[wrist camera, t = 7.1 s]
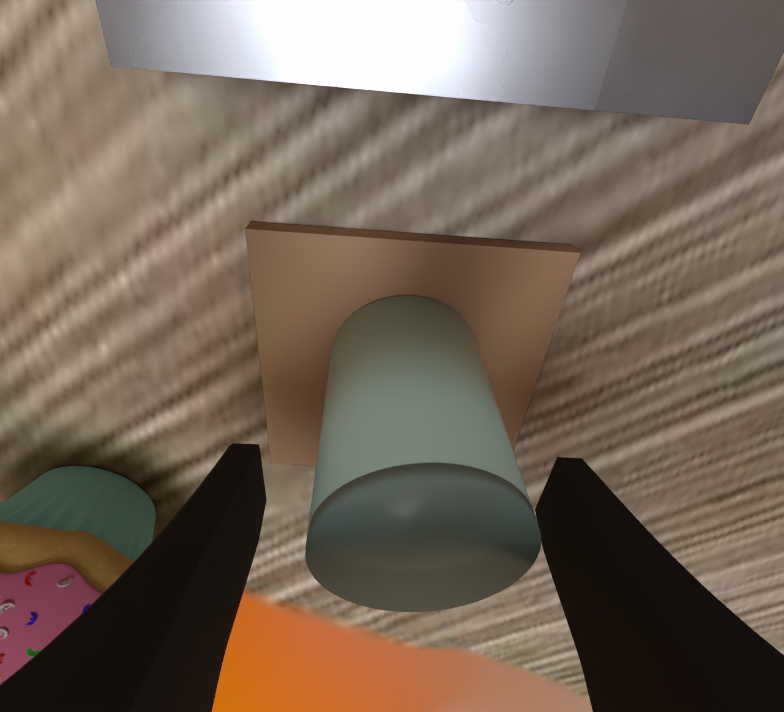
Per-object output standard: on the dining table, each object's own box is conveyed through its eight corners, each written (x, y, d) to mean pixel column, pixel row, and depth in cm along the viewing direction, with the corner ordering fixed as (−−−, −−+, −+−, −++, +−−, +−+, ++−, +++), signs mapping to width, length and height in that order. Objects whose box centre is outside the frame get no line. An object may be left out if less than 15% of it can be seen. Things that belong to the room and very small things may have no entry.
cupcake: (-39, 509, 19) (-498, 1012, 9) (21, 390, 15) (-630, 1012, 5) (155, 577, 22) (-26, 999, 12) (242, 492, 19) (84, 994, 9)
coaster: (572, 244, 13) (580, 252, 12) (502, 461, 18) (505, 473, 17) (250, 221, 12) (244, 228, 12) (274, 451, 17) (271, 463, 17)
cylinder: (491, 300, 13) (573, 484, 8) (463, 416, 15) (509, 612, 10) (331, 291, 12) (300, 477, 7) (330, 411, 15) (308, 611, 10)
